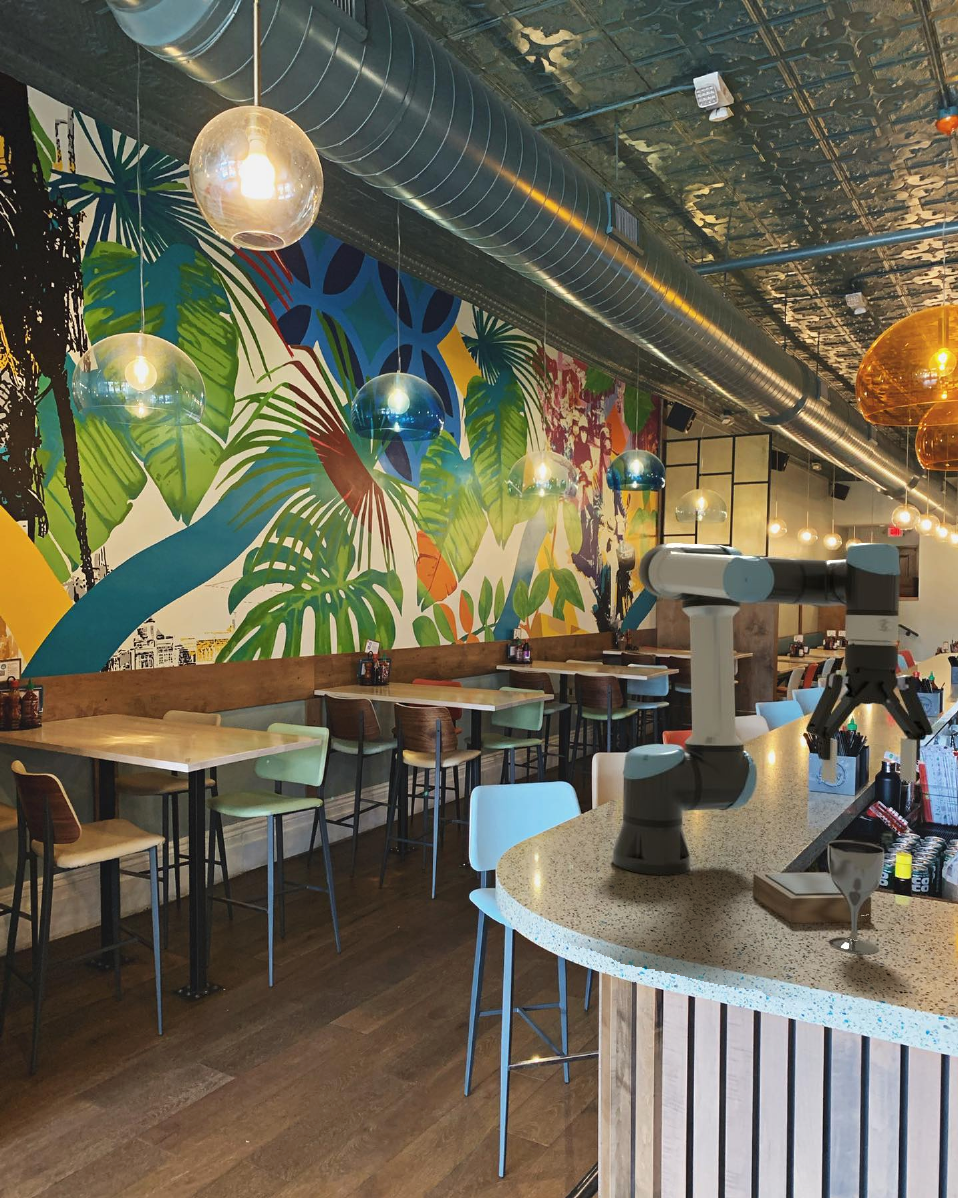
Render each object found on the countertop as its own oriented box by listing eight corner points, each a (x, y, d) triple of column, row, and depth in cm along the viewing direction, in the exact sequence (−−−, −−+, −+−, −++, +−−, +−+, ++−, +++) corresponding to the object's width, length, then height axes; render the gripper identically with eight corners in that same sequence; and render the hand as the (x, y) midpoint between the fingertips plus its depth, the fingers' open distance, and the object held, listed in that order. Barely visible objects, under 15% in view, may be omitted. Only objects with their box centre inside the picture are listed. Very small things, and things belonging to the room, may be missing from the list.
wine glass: (867, 936, 140) (869, 840, 140) (892, 956, 132) (894, 854, 132) (817, 935, 140) (819, 839, 140) (839, 955, 132) (841, 853, 132)
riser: (790, 923, 145) (791, 896, 145) (752, 895, 159) (753, 871, 159) (870, 921, 147) (871, 895, 147) (826, 894, 161) (826, 870, 161)
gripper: (812, 642, 132) (809, 786, 131) (959, 646, 137) (957, 784, 136) (785, 640, 139) (782, 777, 139) (925, 644, 144) (923, 776, 144)
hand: (868, 781), depth 138 cm, fingers open, 13 cm apart
